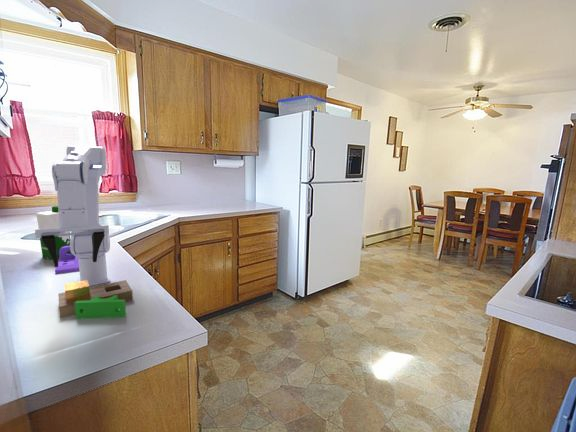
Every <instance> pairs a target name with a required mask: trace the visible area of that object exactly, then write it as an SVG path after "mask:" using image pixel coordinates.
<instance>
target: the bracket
mask: <svg viewBox="0 0 576 432" xmlns="http://www.w3.org/2000/svg"><path fill="white" fill-rule="evenodd" d="M67 251H71V250H70V246H63V247H62V248H61V249H60V250H59V257H60V258H59V260H58V267H54V268H55V269H54V274H55V275H58V274H65V273H71V272H80V271H79V262H78V258H76V255H73V254H67V253H66V252H67Z"/></svg>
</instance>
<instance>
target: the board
mask: <svg viewBox="0 0 576 432" xmlns="http://www.w3.org/2000/svg"><path fill="white" fill-rule="evenodd" d="M89 289H90V297H87V298H82V299H78V300H73V301H69V302H66V294H65V292H60V293H58V311H59V318H64V317H69V316H72V315H76V313H75V304H74V303H75V302H76V301H87V300H91V299H92V298H94V297H95V296H99V298H100V299H106V298H110V297H112V296H114V295H117V297H118V300H125V303H127V302H130V301H134V300H133V289H132V288H131V287H130V284H129V282H128V281H127V280H126V279H124V280H119V281H114V282H108V283H103V284H98V285H93V286H89ZM82 310H83V309H82ZM83 311H84V310H83Z"/></svg>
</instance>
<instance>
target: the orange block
mask: <svg viewBox="0 0 576 432" xmlns="http://www.w3.org/2000/svg"><path fill="white" fill-rule="evenodd" d="M89 287H90V286H89V284H88V280H85V281H79V280H78V281H74V282H70V283H64V291H65V294H66V302H69V301H73V300H78V299H82V298H87V297H90V289H89Z"/></svg>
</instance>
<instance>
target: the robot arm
mask: <svg viewBox="0 0 576 432" xmlns="http://www.w3.org/2000/svg"><path fill="white" fill-rule="evenodd" d="M65 151H66V156H65V157H64V158H63V160H62V161H59V160H58V161H56V163H55V162H54V163H53V164H52V166H51V177H52V180H53V184H54V191H55V192H57V193H56V195H57V206H58V214H59V228H54V229H39V228H38V229H34V233H35V236H34V237H35V239H40V238H42V241H43V243H44V244H45V246H46V247H47V249H48V250H49V252H50V254H51V256H52V259H53V264H54V265H53V266H54V268H56V267H58V262H59V260H58V259H59V258H57V252H56V237H54V236H68V235H70V250H71V253H72V254H73V255H76V258H78V262H79V271H78V272H79V276H78V277H77V281H78V282H79V281H85V280H88V284H89V287H93V286H98V285H103V284H108V283H111V279H110V277H109V275H108V270H107V269H108V268H107V267H108V266H107V257H106V256H107V255H106V254H107V253H108V252H110V248H111V239H110V227H109V225H102V224H100V222H99V221H100V220H99V219H100V218H99V217H100V214H99V213H100V212H99V211H100V209H99V206H100V205H99V200H100V199H99V183H100V177H102V176H104V175H105V174H106V171H107V154H106V153H107V152H106V149H105V147H103V146H95V145H94V146H93V145H92V146H91V145H90V146H89V145H72V144H68V146H67V147H66V150H65ZM66 231H69V232H70V233H67V234H59V233H65V232H66ZM52 259H51V260H52Z"/></svg>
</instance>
